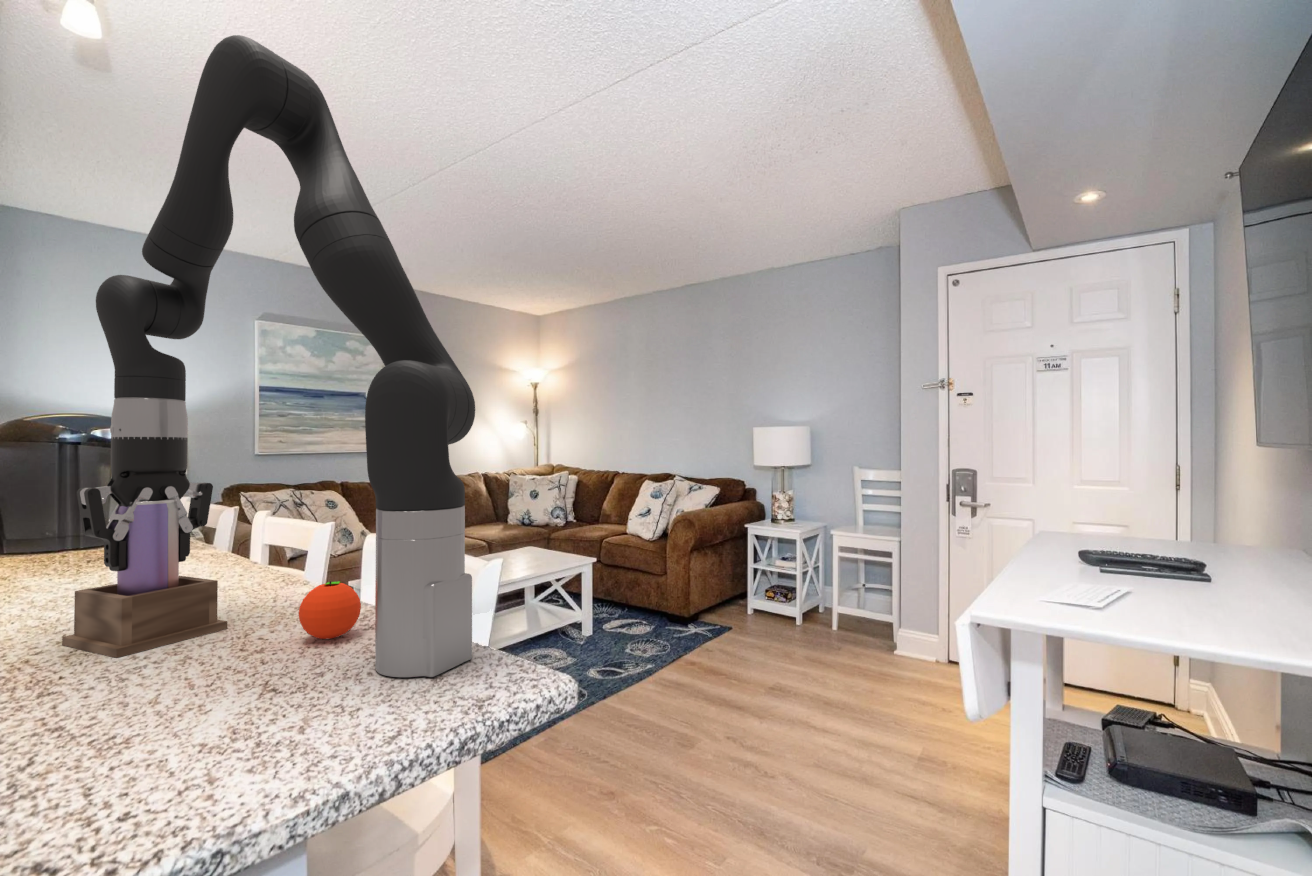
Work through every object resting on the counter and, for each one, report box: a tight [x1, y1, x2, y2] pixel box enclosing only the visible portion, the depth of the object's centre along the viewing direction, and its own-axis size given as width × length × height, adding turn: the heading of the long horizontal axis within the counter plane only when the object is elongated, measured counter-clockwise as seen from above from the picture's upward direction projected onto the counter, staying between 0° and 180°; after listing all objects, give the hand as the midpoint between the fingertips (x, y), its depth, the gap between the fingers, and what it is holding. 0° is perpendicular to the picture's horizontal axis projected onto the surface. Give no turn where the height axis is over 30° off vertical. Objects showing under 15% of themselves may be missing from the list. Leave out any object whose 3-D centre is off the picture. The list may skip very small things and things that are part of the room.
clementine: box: [298, 580, 362, 640], centre depth 75 cm, size 8×7×7 cm
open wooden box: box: [61, 575, 228, 659], centre depth 76 cm, size 12×12×6 cm
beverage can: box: [116, 499, 180, 596], centre depth 76 cm, size 6×6×15 cm
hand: (149, 565), depth 76 cm, fingers closed on beverage can, 6 cm apart
